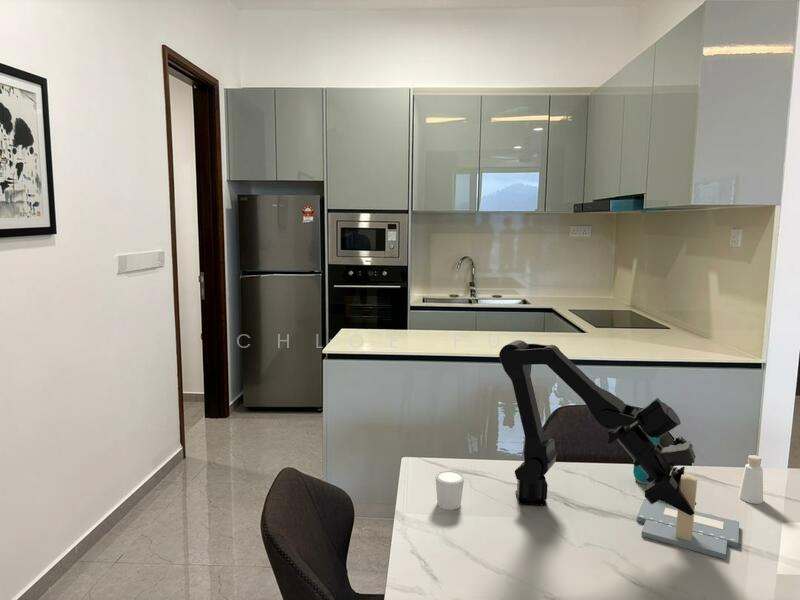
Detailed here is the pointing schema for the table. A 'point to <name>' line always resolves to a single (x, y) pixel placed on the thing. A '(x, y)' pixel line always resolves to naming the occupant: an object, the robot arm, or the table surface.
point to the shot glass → (449, 489)
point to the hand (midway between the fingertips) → (693, 509)
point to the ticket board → (700, 525)
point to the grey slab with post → (686, 527)
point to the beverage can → (638, 472)
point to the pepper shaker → (752, 481)
